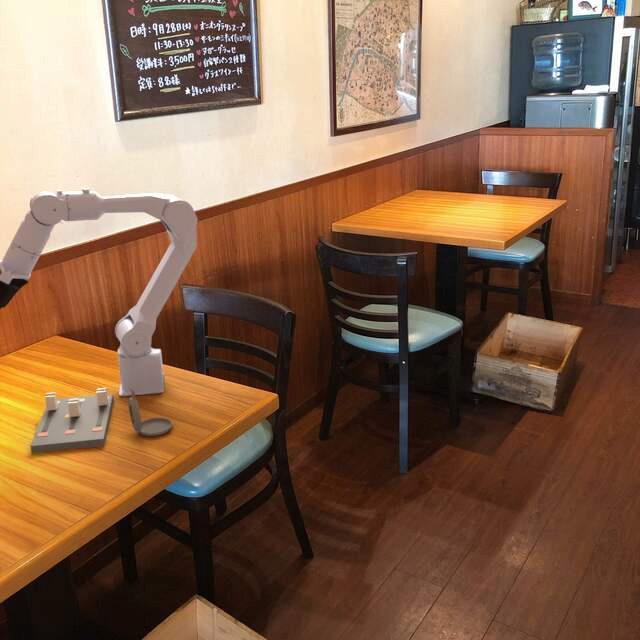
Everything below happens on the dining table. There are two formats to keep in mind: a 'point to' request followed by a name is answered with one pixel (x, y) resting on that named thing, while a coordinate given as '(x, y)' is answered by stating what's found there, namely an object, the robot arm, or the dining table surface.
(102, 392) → the handle
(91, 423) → the panel
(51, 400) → the handle
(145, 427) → the pocket watch
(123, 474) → the dining table surface
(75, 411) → the handle
